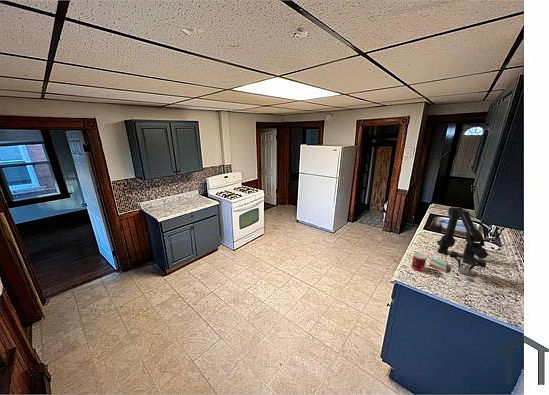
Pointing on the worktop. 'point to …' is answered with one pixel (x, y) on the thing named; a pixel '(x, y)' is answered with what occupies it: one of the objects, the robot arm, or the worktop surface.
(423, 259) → the canned food
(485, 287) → the worktop surface
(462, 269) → the housing
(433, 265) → the stand
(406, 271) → the worktop surface
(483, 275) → the worktop surface
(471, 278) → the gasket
